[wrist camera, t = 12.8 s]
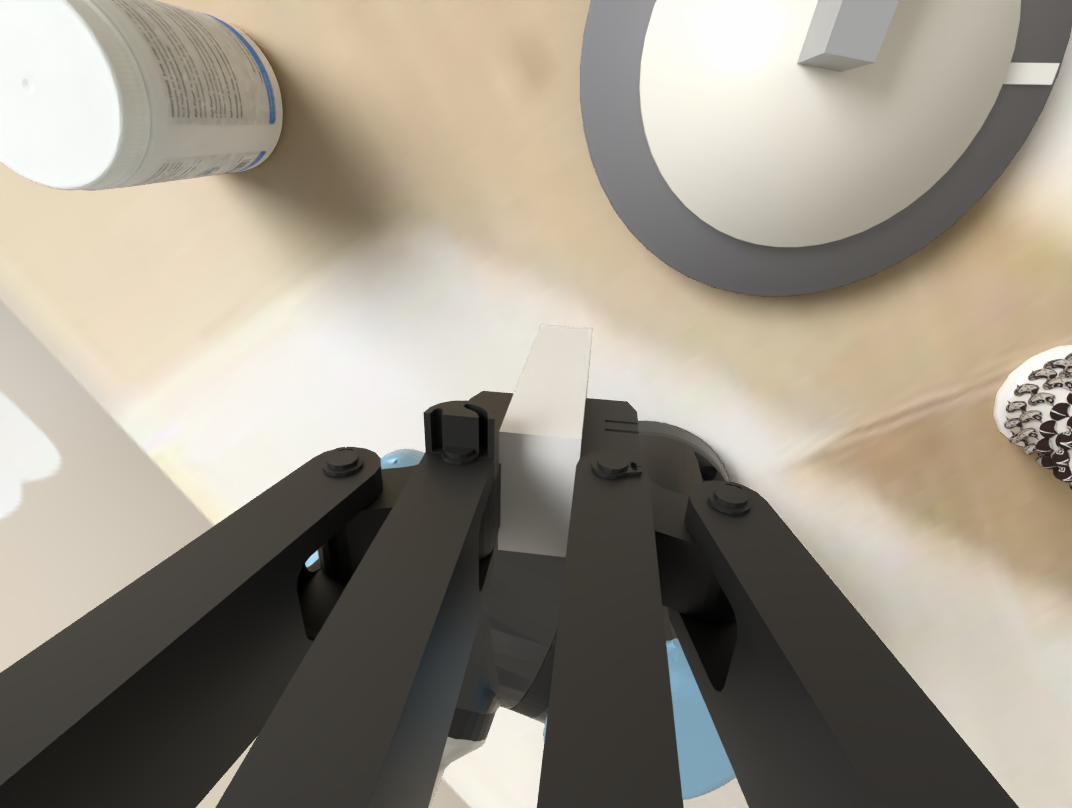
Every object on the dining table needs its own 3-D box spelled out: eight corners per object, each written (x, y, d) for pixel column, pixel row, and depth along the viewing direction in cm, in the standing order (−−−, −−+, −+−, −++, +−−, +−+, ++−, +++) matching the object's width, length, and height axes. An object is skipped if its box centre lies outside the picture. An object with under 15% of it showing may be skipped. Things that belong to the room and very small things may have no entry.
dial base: (946, 295, 39) (973, 308, 36) (572, 275, 41) (568, 286, 38) (1129, -226, 27) (1191, -270, 24) (597, -208, 30) (595, -245, 27)
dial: (898, 271, 35) (961, 300, 29) (605, 209, 36) (603, 225, 30) (1155, -266, 25) (1342, -404, 18) (730, -340, 25) (769, -499, 19)
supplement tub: (170, -12, 37) (-80, -94, 23) (304, 60, 37) (136, 21, 24) (150, 135, 41) (-70, 136, 28) (271, 197, 42) (113, 227, 29)
